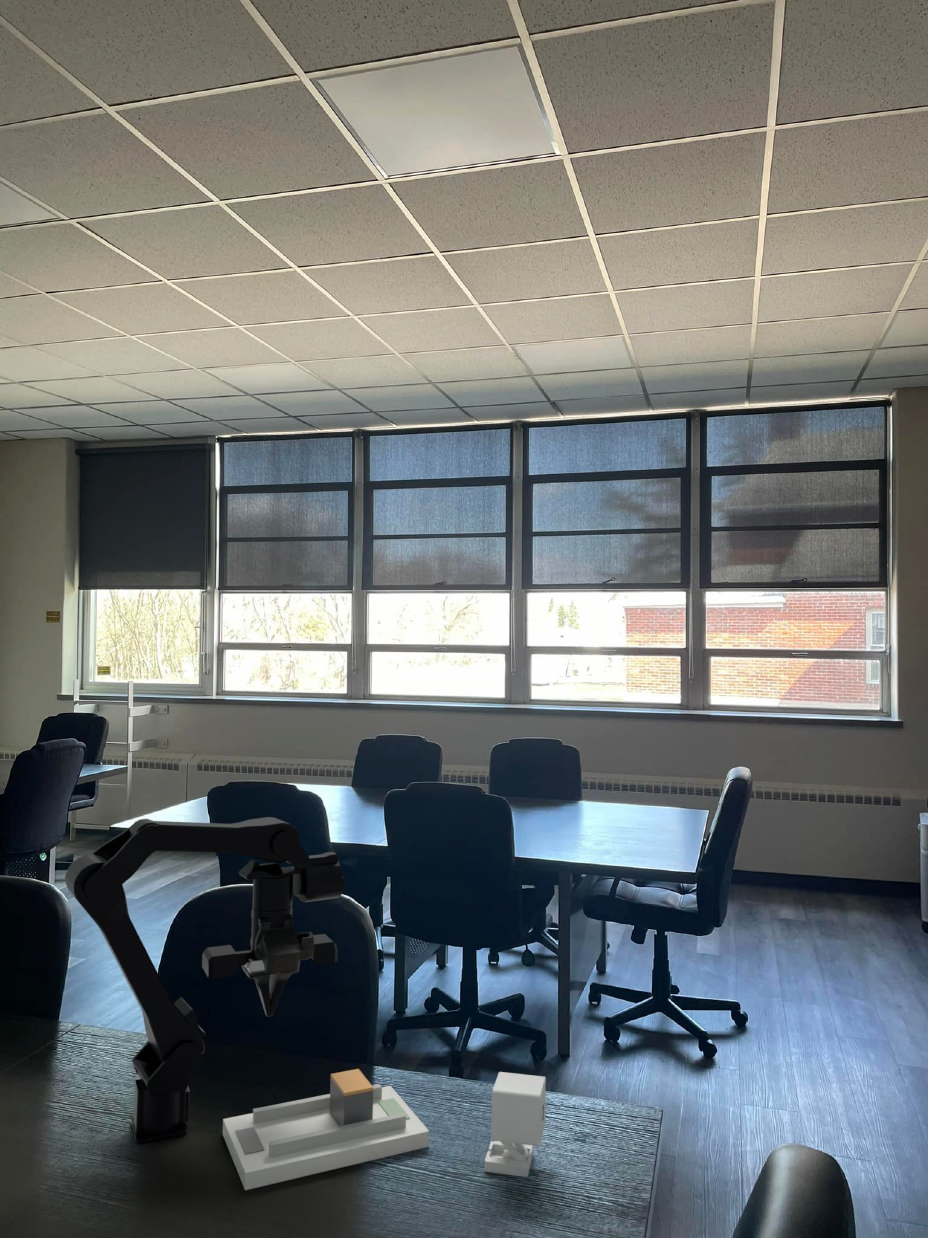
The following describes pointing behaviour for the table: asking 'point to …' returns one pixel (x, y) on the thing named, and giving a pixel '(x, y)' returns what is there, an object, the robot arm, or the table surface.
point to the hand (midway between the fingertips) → (269, 1015)
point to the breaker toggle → (350, 1097)
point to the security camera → (515, 1122)
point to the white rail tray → (318, 1138)
